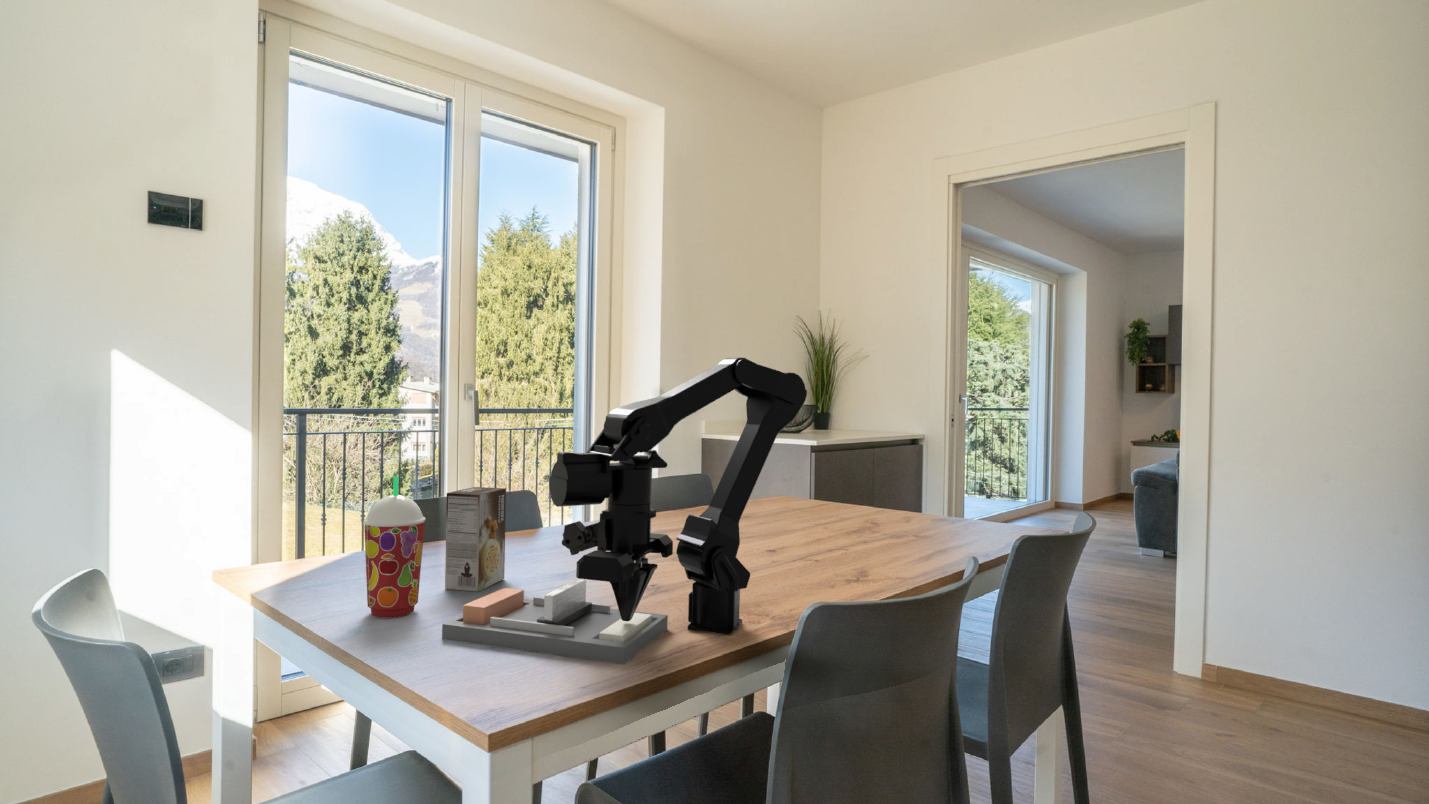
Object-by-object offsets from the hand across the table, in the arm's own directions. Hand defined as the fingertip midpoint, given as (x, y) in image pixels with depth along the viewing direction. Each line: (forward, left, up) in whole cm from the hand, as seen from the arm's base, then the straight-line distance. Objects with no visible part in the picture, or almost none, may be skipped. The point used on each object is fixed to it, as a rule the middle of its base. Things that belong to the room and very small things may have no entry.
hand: (626, 620), depth 100 cm
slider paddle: (+9, 0, -1) cm, 9 cm away
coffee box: (+36, -19, -3) cm, 41 cm away
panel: (+10, 0, -3) cm, 10 cm away
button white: (0, 0, -3) cm, 3 cm away
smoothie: (+37, 0, -3) cm, 37 cm away
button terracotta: (+20, 0, -2) cm, 20 cm away
